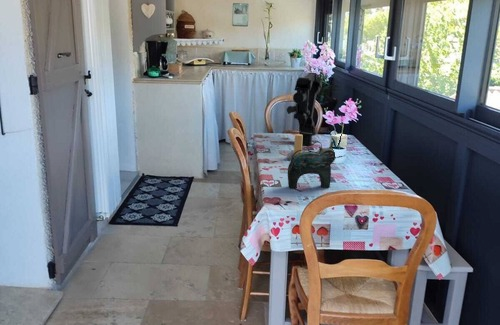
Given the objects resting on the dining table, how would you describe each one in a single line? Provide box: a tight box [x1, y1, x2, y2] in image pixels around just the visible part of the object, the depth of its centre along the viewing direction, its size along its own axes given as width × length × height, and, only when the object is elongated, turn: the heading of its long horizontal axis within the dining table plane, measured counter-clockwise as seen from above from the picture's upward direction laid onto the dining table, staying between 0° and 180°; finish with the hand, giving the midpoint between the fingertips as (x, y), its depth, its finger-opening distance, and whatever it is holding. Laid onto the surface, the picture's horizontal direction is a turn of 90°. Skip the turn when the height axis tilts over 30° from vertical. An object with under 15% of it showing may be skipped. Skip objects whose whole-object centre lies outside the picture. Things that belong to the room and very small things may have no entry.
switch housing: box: [286, 147, 308, 162], centre depth 236 cm, size 16×10×3 cm, turn 165°
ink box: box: [329, 133, 349, 150], centre depth 240 cm, size 9×5×12 cm, turn 129°
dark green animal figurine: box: [287, 140, 336, 190], centre depth 188 cm, size 20×6×20 cm, turn 99°
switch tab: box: [293, 134, 303, 155], centre depth 230 cm, size 2×4×11 cm, turn 76°
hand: (300, 129), depth 247 cm, fingers closed
